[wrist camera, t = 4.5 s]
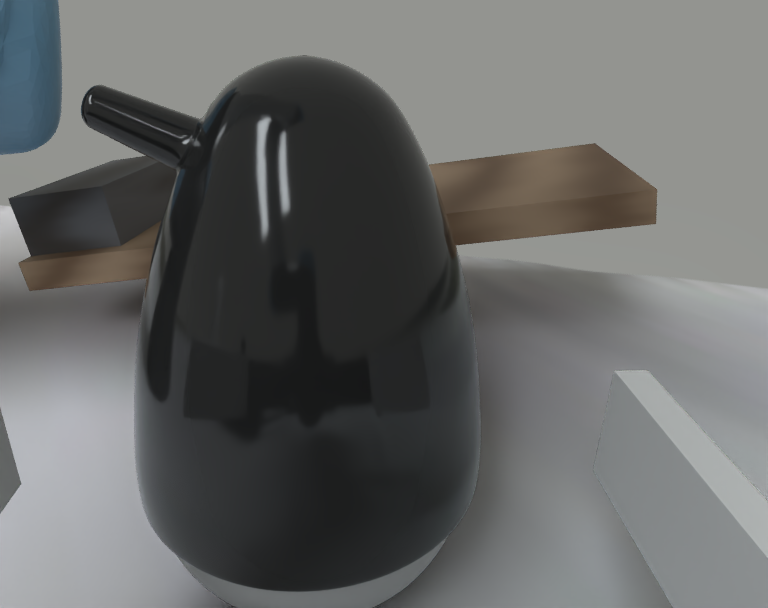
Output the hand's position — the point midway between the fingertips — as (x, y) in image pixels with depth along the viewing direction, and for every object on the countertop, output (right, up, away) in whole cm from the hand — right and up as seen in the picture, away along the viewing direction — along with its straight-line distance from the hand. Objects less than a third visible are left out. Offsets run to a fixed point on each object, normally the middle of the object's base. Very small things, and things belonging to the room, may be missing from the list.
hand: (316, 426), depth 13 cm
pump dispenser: (-1, -6, +7) cm, 9 cm away
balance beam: (-1, +7, +20) cm, 22 cm away
